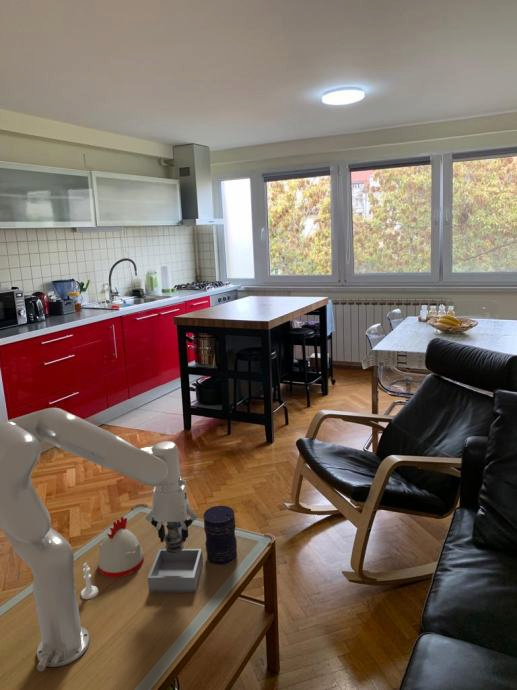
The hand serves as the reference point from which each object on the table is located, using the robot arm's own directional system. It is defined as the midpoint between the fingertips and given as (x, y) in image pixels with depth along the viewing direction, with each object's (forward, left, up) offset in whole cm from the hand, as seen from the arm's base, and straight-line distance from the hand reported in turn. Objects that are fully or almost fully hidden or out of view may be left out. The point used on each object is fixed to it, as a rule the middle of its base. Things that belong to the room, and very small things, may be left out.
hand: (173, 538), depth 154 cm
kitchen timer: (+7, +20, -13) cm, 25 cm away
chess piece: (-7, +25, -13) cm, 29 cm away
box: (0, 0, -13) cm, 13 cm away
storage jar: (+10, -12, -13) cm, 21 cm away
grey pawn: (0, 0, -3) cm, 3 cm away
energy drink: (+20, +5, -13) cm, 24 cm away
